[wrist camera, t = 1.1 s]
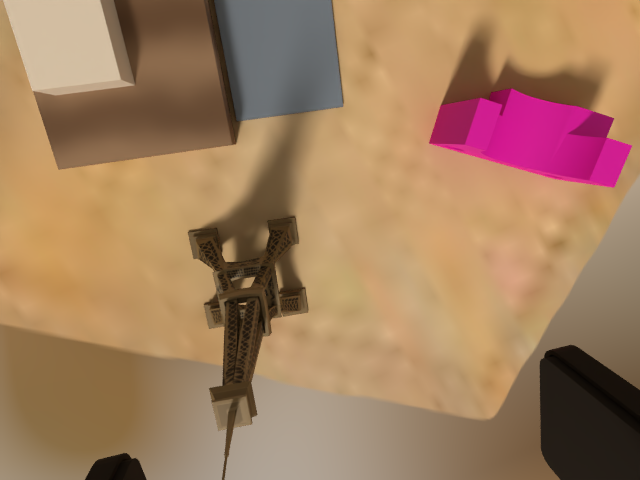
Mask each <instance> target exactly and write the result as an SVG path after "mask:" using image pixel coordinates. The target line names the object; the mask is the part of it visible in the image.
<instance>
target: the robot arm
mask: <svg viewBox="0 0 640 480" xmlns="http://www.w3.org/2000/svg"><path fill="white" fill-rule="evenodd" d="M540 413H541V414H540V415H541V451H542V454H543V456H544V459H545V460H546V462H547V464H548V465H549V466H550V468H551V469H552V470H553V471H554V472H555V474H556V475H557V476H558V477H559V478H560V480H640V390H639V389H637V388H636V387H634V386H633V385H632V384H630V383H629V382H627V381H626V380H624V379H623V378H621V377H620V376H619V375H617V374H616V373H614V372H613V371H611V370H610V369H608V368H607V367H605V366H604V365H603V364H601V363H600V362H598V361H597V360H595V359H594V358H593V357H591V356H590V355H588V354H587V353H585V352H584V351H582V350H581V349H580V348H578V347H576V346H574V345H569V346H565V347H560V348H556V349H552V350H549V351H547V352H546V353H545V356H544V358H543V359H541V361H540ZM85 480H146V477H145V475H144V472H143V470H142V468H141V465H140V463H139V461H138V460H137V459H136V458H134V459H131V457H130V456H129V455H128V454H127V453H123V454H120V455H115V456H111V457H107V458H103V459H99V460H97V461H96V462H95V463H94V464H93V466H92V468H91V469H90V471H89V473H88V475H87V477H86V479H85Z"/></svg>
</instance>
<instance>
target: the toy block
mask: <svg viewBox="0 0 640 480" xmlns="http://www.w3.org/2000/svg"><path fill="white" fill-rule="evenodd" d="M613 120H614V118H612V117H609V116H606V115H603V114H599V113H596V112H593V111H590V110H587V109H584V108H581V107H578V106H571V105H564V104H559V103H553V102H549V101H544V100H540V99H537V98H533V97H530V96H527V95H525V94H522V93H520V92H518V91H516V90H514V89H512V88H511V89H506V90H501V91H496V92H491V95H490V98H489V100H486V99H483V98H477V99H472V100H466V101H461V102H456V103H451V104H445V105H441V106H440V110H439V113H438V116H437V119H436V122H435V126H434V129H433V132H432V135H431V138H430V142H429V144H433V145H436V146H440V147H443V148H447V149H450V150H454V151H457V152H461V153H465V154H468V155H472V156H475V157H479V158H482V159H486V160H489V161H493V162H496V163H500V164H504V165H507V166H511V167H514V168H518V169H521V170H525V171H528V172H532V173H535V174H539V175H542V176H546V177H550V178H553V179H558V180H565V181H572V182H579V183H586V184H593V185H600V186H607V187H615V184H616V182H617V180H618V177H619V175H620V173H621V170H622V168H623V166H624V164H625V161H626V159H627V157H628V154H629V152H630V150H631V147H632V146H631V145H628V144H625V143H622V142H619V141H616V140H612V139H609V138H606V137H607V135H608V132H609V130H610V127H611V125H612V122H613Z"/></svg>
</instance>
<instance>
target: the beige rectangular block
mask: <svg viewBox="0 0 640 480" xmlns="http://www.w3.org/2000/svg"><path fill="white" fill-rule="evenodd" d="M3 1H4V5H5V8H6V11H7V14H8V17H9V20H10V23H11V26H12V29H13V32H14V35H15V38H16V42H17V45H18V48H19V51H20V54H21V57H22V60H23V63H24V66H25V69H26V72H27V75H28V79H29V82H30V85H31V88H32V91H36V92H41V93H46V94H51V95H63V94H71V93H78V92H86V91H94V90H102V89H110V88H118V87H126V86H134V85H135V82H134V78H133V75H132V71H131V67H130V63H129V59H128V55H127V51H126V47H125V43H124V39H123V35H122V31H121V27H120V23H119V19H118V15H117V11H116V7H115V3H114V0H3Z"/></svg>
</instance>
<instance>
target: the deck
mask: <svg viewBox="0 0 640 480" xmlns="http://www.w3.org/2000/svg"><path fill="white" fill-rule="evenodd" d="M114 3H115V7H116V11H117V15H118V19H119V23H120V27H121V31H122V35H123V39H124V43H125V47H126V51H127V55H128V59H129V63H130V67H131V71H132V75H133V78H134V82H135V85H134V86H126V87H118V88H110V89H102V90H94V91H86V92H78V93H71V94H63V95H51V94H46V93H41V92H36V91H33V92H34V95H35V98H36V102H37V105H38V108H39V111H40V114H41V117H42V120H43V123H44V126H45V129H46V132H47V136H48V139H49V142H50V145H51V148H52V151H53V154H54V157H55V160H56V163H57V166H58V169H59V170H60V169H67V168H74V167H81V166H88V165H95V164H102V163H109V162H116V161H123V160H130V159H137V158H144V157H151V156H158V155H165V154H172V153H179V152H186V151H193V150H200V149H207V148H214V147H221V146H228V145H234V144H236V141H235V136H234V131H233V126H232V121H231V115H230V110H229V105H228V100H227V95H226V89H225V84H224V79H223V74H222V69H221V63H220V58H219V53H218V48H217V43H216V37H215V32H214V27H213V22H212V17H211V11H210V6H209V1H208V0H114Z"/></svg>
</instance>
